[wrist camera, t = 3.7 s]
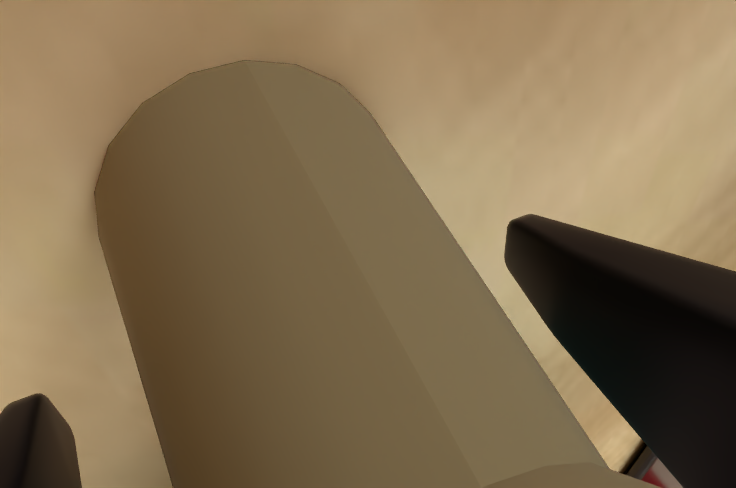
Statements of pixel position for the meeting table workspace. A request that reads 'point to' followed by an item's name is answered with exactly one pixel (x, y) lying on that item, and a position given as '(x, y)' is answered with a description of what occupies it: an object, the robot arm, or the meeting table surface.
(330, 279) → the brown pawn
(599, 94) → the meeting table surface
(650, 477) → the smartphone
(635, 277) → the robot arm
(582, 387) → the meeting table surface
